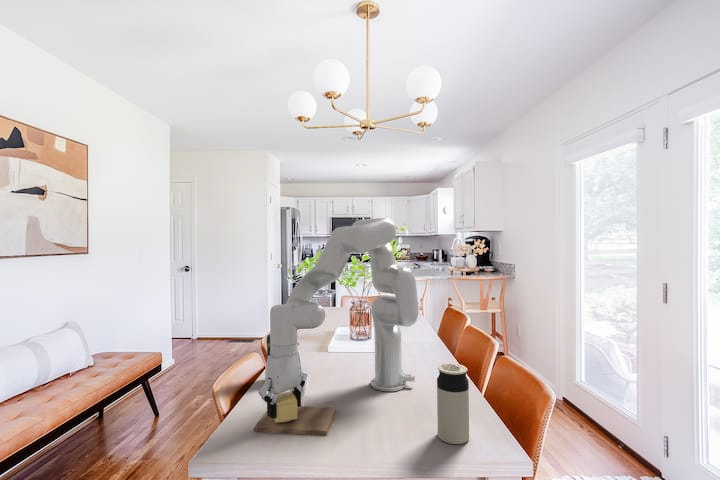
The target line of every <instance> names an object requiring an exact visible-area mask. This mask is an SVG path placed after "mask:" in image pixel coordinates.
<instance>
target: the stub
mask: <svg viewBox="0 0 720 480" xmlns="http://www.w3.org/2000/svg"><path fill="white" fill-rule="evenodd" d="M292 421H293V420H288V421H283V422H277V423H279V424H287V423H290V422H292Z"/></svg>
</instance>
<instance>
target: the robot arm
mask: <svg viewBox="0 0 720 480" xmlns="http://www.w3.org/2000/svg"><path fill="white" fill-rule="evenodd" d="M396 234H397V228H396V225H395V223H394V222H393V221H392V220H391V219H389V218H386V217H379V218H363V219H358V220H356V221H354V222H353V223H352V224H351V225H350V226H349V225H347V226H340V227H336V228H335V229H334V230H332V231H331V234H330V235H329V236H328V239H327V241H326V243H325V245H324V246H323V249H322V251H321V253H320V255H319V257H318V259H317V261H316V263H315V264H314V266H313V267H312V268H311V269H310V270H309V271H307V272H306V274H304V275H303V276H302V277H301V278H300V280H298V282H297V283H296V284H295V286H294V287H292V288H293V289H292V290H291V292H290V294H289V295H288V298H287V300H286V302H285V304H284V303H282V304H276V305H273V306H271V308H270V310H269V334H270V355H269V356H268V358H267V357H266V363H265V373H264V383H263V385H262V386H261V388H259V390H258V394H259V396H260V397H261V400H263V401H264V402H265V403H266V411H267V415H268V416H269V417H271V418H273V419H275V418H276V417H277V404H276V403H275V401H276V398H277V396H278V395H281V394H282V393H283V394H284V393H285V392H289V391H290V389H294V390H293V391H292V393H293V394H294V395H295V397H296V399H297V406H298V407H300V406H302V397H301V392H302V391H303V386H304V384H305V381H306V378H307V373H304V372H302V371H301V370H302V361H301V357H300V352H299V351H298V346H300V342H299V341H298V330H311V329H312V330H313V329H316V328H319V327H320V326H322V324H323V323H324V322H325V320H326V311H325V309H324V307H323V306H322V305H320V303H317V302H315V301H314V302H312V301H311V300H312V298H313V297H314V295H315V294H316V293H317V292H318V291H319V290H320V289H322V288H324V287H326V286H328V285H330V284H333V283H334V282H336V281H338V280H339V279H340V277H341V275H342V273H343V271H344V269H345V267H346V265H347V263H348V260H349V259H350V257H351V255H352V254H364V253H368V256H369V261H370V263H369V264H370V271H371V278H372V279H371V280H372V285H373V288H374V289H375V290H376V292H380V293H384V295H380V296H377V297H376V298H375V299H374V300H373V301H372V303H371V307H370V309H371V317H372V323H373V329H374V332H373V333H374V377H373V378H372V379H371V380H370V386H371V387H372V388H373V389H375V390H378V391H382V392H397V391H401V390H404V389H405V388H406V387H407V382H412V383H413V382H416V377H415V375H412V373H407V374H406V373H404V370H403V368H402V366H403V363H402V358H403V355H402V352H403V351H402V350H403V349H402V348H403V347H402V332H401V329H400V327H405V328H408V327H412V326H414V325H415V324H416V323H417V321H418V318H419V301H418V300H419V298H418V290H417V289H418V288H417V281H416V277H415V275H414V273H413V271H412V270H411V269H409V268H408V267H406V266H398V265H396V261H395V256H394V249H393V247H392V245H391V244H390V243H392V241H394V239H395V236H396ZM385 294H391V295H385Z"/></svg>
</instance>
